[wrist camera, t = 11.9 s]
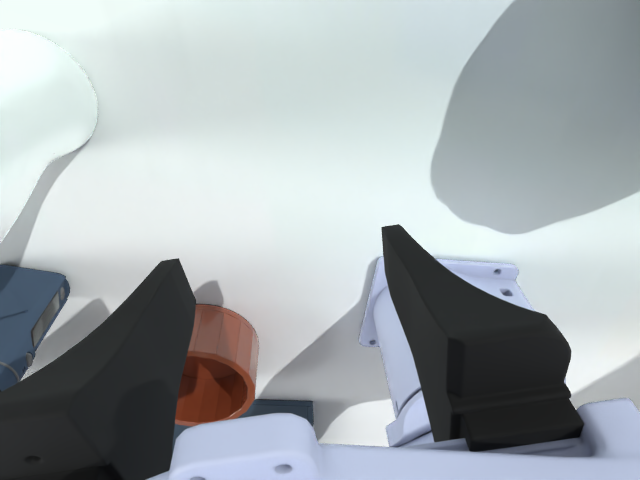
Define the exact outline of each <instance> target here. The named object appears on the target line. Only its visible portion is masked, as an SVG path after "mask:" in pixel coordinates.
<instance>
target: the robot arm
mask: <svg viewBox="0 0 640 480" xmlns="http://www.w3.org/2000/svg"><path fill="white" fill-rule="evenodd" d="M382 241H383V255H384V256H382V257H380V258H379V259H378V261H377V265H376V269H375V273H374V277H373V282H372V286H371V290H370V294H369V298H368V302H367V307H366V311H365V315H364V319H363V323H362V327H361V332H360V336H359V343H360V345H362V346H368V347H380V350H381V354H382V359H383V363H384V368H385V372H386V377H387V381H388V386H389V391H390V395H391V400H392V404H393V409H394V413H395V418H396V420H395V421H394V422H392V423H391V424H389V425H387V426H386V432H387V437H388V442H389V447H379V446H360V445H342V444H324V443H318V441H317V439H316V435H315V431H314V428H313V427H312V426H311V424H310V423H309V422H308V421H307V420H306V419H305V418H302V417H300V416H297V415H294V414H292V413H272V414H266V415H259V416H252V417H245V418H238V419H231V420H224V421H217V422H211V423H204V424H199V425H196V426H193V427H190V428H187V429H185V430H184V431H183V432H182V433H181V434H180V435H179V436H178V437H177V438H176V442H175V446H174V451H173V456H172V449H173V437H174V427H175V417H176V409H177V401H178V393H179V387H180V382H181V378H182V373H183V369H184V365H185V361H186V357H187V353H188V349H189V345H190V341H191V336H192V332H193V327H194V320H195V308H196V300H195V297H194V295H193V292H192V290H191V287H190V285H189V283H188V280H187V278H186V275H185V273H184V270H183V268H182V265H181V263H180V261H179V258H178V259H171V260H165V261H161V262H160V263H159V264H158V265H157V266H156V267H155V268H154V270H153V271H152V272H151V273H150V274H149V275H148V276H147V277H146V279H145V280H144V281H143V282H142V283H141V284H140V285H139V286H138V287H137V289H136V290H135V291H134V292H133V293H132V294H131V295H130V296H129V297H128V298H127V299H126V300H125V301H124V302H123V303H122V304H121V305H120V306H119V307H118V308H117V309H116V310H115V311H114V312H113V313H112V314H111V315H110V316H109V317H108V318H107V319H106V320H105V321H104V322H103V323H102V324H101V325H100V326H99V327H97V328H96V329H95V330H94V331H93V332H92V333H90V334H89V335H88V336H87V337H86V338H84V339H83V340H82V341H81V342H79V343H78V344H76V345H75V346H74V347H72V348H71V349H70V350H68V351H67V352H66V353H64V354H63V355H61V356H60V357H59V358H57V359H56V360H54V361H53V362H51V363H50V364H48V365H47V366H45V367H44V368H42V369H40V370H39V371H37V372H35V373H34V374H32V375H31V376H29V377H27V378H25V379H24V380H22V381H20V382H18V383H16V384H15V385H13V386H11V387H9V388H7V389H5V390H4V391H2V392H0V480H640V412H639V411H638V409H637V408H636V406H635V405H634V404H633V402H632V401H631V400H630V399H629V398H619V399H612V400H605V401H598V402H591V403H587V404H584V405H582V406H580V407H579V408H578V409H577V410H575V408H574V406H573V405H572V403H571V401H570V400H569V398H570V397H571V393H570V391H569V389H568V387H567V386H566V373H567V370H568V366H569V363H570V359H571V349H570V346H569V344H568V342H567V341H566V339H565V338H564V336H563V335H562V333H561V332H560V331H559V330H558V328H557V327H556V326H555V325H554V324H553V322H552V321H551V320H550V319H549V318H548V317H547V315H545V314H542V313H539V312H535V310H534V309H533V307H532V306H531V304H530V303H529V301H528V300H527V298H526V297H525V295H524V294H523V292H522V291H521V289H520V288H519V286H518V285H517V283H516V281H515V279H516V277H517V275H518V273H519V270H518V268H517V267H516V266H515V265H513V264H503V263H488V262H474V261H459V260H445V259H435V258H433V257H432V256H431V255H430V254H429V253H428V252H427V251H426V250H424V249H423V248H422V247H421V246H420V245H419V244H418V243H417V242H416V241H415V240H414V239H413V238H412V237H411V236H410V235H409V234H408V233H407V232H406V231H405V229H404V228H403V227H402V226H400V225H399V224H398V225H392V226H385V227H382ZM496 269H498V271H496V272H494V271H495V270H496ZM371 340H374V341H371Z"/></svg>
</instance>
